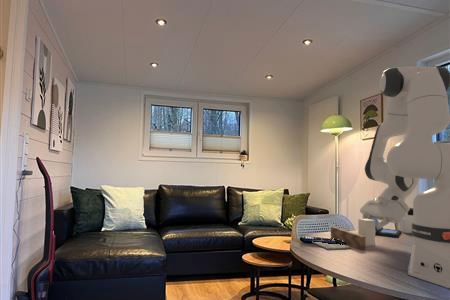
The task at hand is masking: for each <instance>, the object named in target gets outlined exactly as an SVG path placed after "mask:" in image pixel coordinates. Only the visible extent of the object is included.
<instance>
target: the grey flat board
mask: <svg viewBox="0 0 450 300" xmlns="http://www.w3.org/2000/svg"><path fill="white" fill-rule="evenodd" d="M332 240H334V239H332ZM311 241H312V243H311V244H314V245H316V246H318V247H320V248H322V249H325V250H327V251H336V250H338V251H339V250H351V249H352V246H350V245H347V244H344V243H341V245H340V244H328V243H322V242H313V241H314V240H311ZM342 244H343V245H342Z"/></svg>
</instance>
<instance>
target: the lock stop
mask: <svg viewBox="0 0 450 300" xmlns="http://www.w3.org/2000/svg"><path fill="white" fill-rule="evenodd" d="M357 224H358V230H357V231H358V233H357V234H359V235H362V236H365V247H366V246H376V231H375V220H371V219H362V218H358V223H357Z"/></svg>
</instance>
